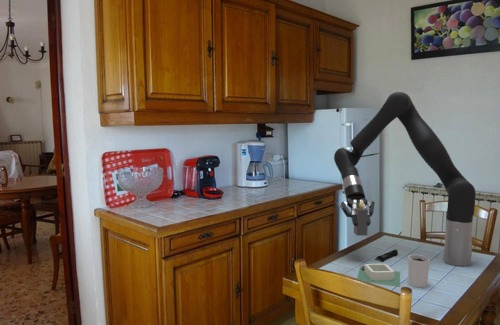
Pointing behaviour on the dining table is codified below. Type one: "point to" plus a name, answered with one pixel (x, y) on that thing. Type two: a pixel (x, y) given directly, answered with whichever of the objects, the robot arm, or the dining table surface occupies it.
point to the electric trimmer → (386, 256)
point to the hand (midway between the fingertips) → (362, 225)
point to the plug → (361, 220)
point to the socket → (379, 272)
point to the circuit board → (392, 283)
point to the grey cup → (418, 270)
